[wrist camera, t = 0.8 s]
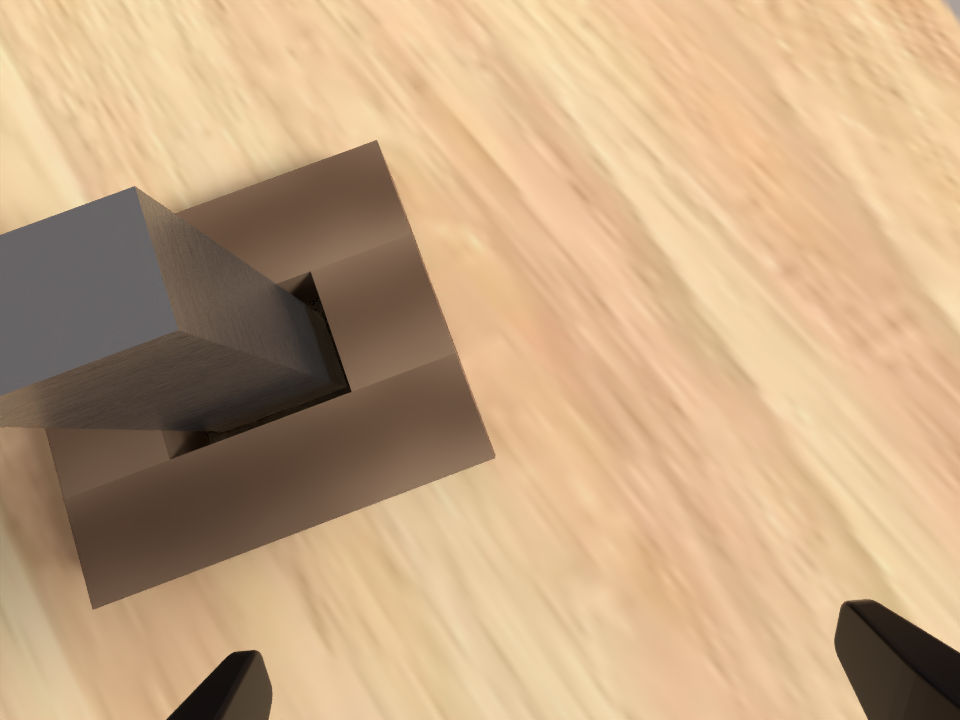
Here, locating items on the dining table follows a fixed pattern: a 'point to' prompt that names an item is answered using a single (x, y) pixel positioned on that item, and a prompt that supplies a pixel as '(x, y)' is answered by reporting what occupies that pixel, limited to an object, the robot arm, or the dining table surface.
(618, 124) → the dining table surface
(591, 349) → the dining table surface
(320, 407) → the holder box
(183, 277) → the gray peg in slot
